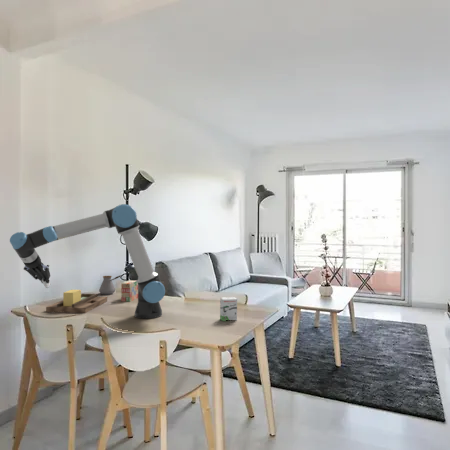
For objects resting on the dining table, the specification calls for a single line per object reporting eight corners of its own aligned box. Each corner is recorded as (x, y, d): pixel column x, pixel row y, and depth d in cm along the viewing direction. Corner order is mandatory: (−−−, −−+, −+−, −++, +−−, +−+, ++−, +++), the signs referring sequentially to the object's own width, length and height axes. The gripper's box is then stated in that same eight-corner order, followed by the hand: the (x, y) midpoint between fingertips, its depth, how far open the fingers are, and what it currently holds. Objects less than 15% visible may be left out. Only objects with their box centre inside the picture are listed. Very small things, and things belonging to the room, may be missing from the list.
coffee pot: (95, 294, 279) (95, 273, 278) (108, 291, 288) (108, 271, 288) (115, 297, 267) (115, 276, 267) (128, 294, 277) (128, 274, 277)
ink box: (221, 321, 204) (221, 299, 204) (219, 319, 209) (219, 297, 209) (237, 320, 206) (237, 298, 206) (235, 318, 211) (235, 296, 211)
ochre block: (81, 302, 236) (80, 289, 236) (73, 306, 226) (73, 292, 226) (71, 302, 237) (71, 289, 237) (63, 306, 227) (63, 292, 227)
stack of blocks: (134, 295, 276) (134, 278, 276) (142, 295, 275) (142, 278, 274) (121, 301, 255) (121, 283, 255) (130, 301, 254) (130, 283, 253)
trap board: (107, 301, 254) (107, 294, 254) (85, 312, 222) (85, 304, 222) (72, 300, 256) (72, 293, 256) (46, 312, 225) (46, 303, 225)
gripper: (14, 263, 187) (33, 291, 204) (39, 264, 186) (57, 292, 203) (21, 251, 193) (39, 280, 209) (45, 252, 192) (62, 280, 208)
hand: (48, 285), depth 206 cm, fingers closed
